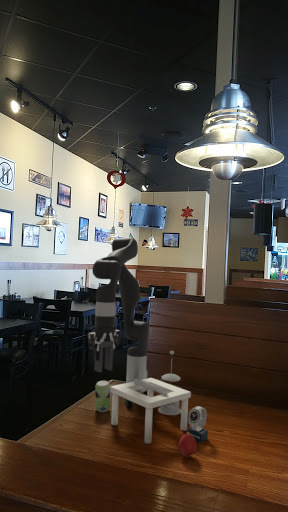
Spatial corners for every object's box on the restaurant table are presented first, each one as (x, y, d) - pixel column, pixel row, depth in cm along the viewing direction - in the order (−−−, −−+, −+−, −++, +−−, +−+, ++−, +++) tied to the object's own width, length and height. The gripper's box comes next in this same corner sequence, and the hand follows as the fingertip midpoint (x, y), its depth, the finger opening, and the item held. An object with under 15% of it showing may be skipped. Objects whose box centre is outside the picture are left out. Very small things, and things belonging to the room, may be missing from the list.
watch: (184, 439, 141) (185, 408, 141) (196, 433, 147) (198, 402, 147) (198, 445, 137) (199, 412, 137) (210, 437, 143) (211, 406, 143)
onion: (176, 452, 131) (177, 428, 131) (194, 452, 131) (195, 428, 131) (179, 461, 125) (180, 435, 125) (198, 461, 125) (198, 435, 126)
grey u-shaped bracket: (106, 368, 152) (107, 339, 152) (112, 370, 150) (113, 340, 150) (94, 370, 149) (95, 340, 149) (99, 372, 146) (100, 342, 146)
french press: (174, 417, 161) (177, 354, 162) (149, 410, 168) (152, 350, 168) (185, 409, 170) (187, 350, 170) (161, 403, 176) (163, 346, 176)
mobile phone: (134, 397, 169) (130, 385, 184) (126, 397, 169) (123, 385, 183) (133, 409, 169) (129, 396, 184) (126, 409, 169) (123, 396, 184)
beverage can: (111, 408, 168) (112, 379, 168) (108, 414, 161) (109, 384, 161) (96, 407, 169) (97, 378, 169) (92, 413, 161) (94, 383, 162)
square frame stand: (149, 411, 166) (151, 372, 166) (189, 429, 150) (191, 386, 150) (108, 423, 152) (110, 381, 152) (147, 444, 136) (149, 397, 136)
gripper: (115, 311, 157) (113, 355, 157) (83, 313, 147) (81, 360, 147) (126, 314, 151) (125, 359, 151) (94, 316, 142) (93, 364, 142)
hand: (103, 359), depth 149 cm, fingers closed on grey u-shaped bracket, 5 cm apart
